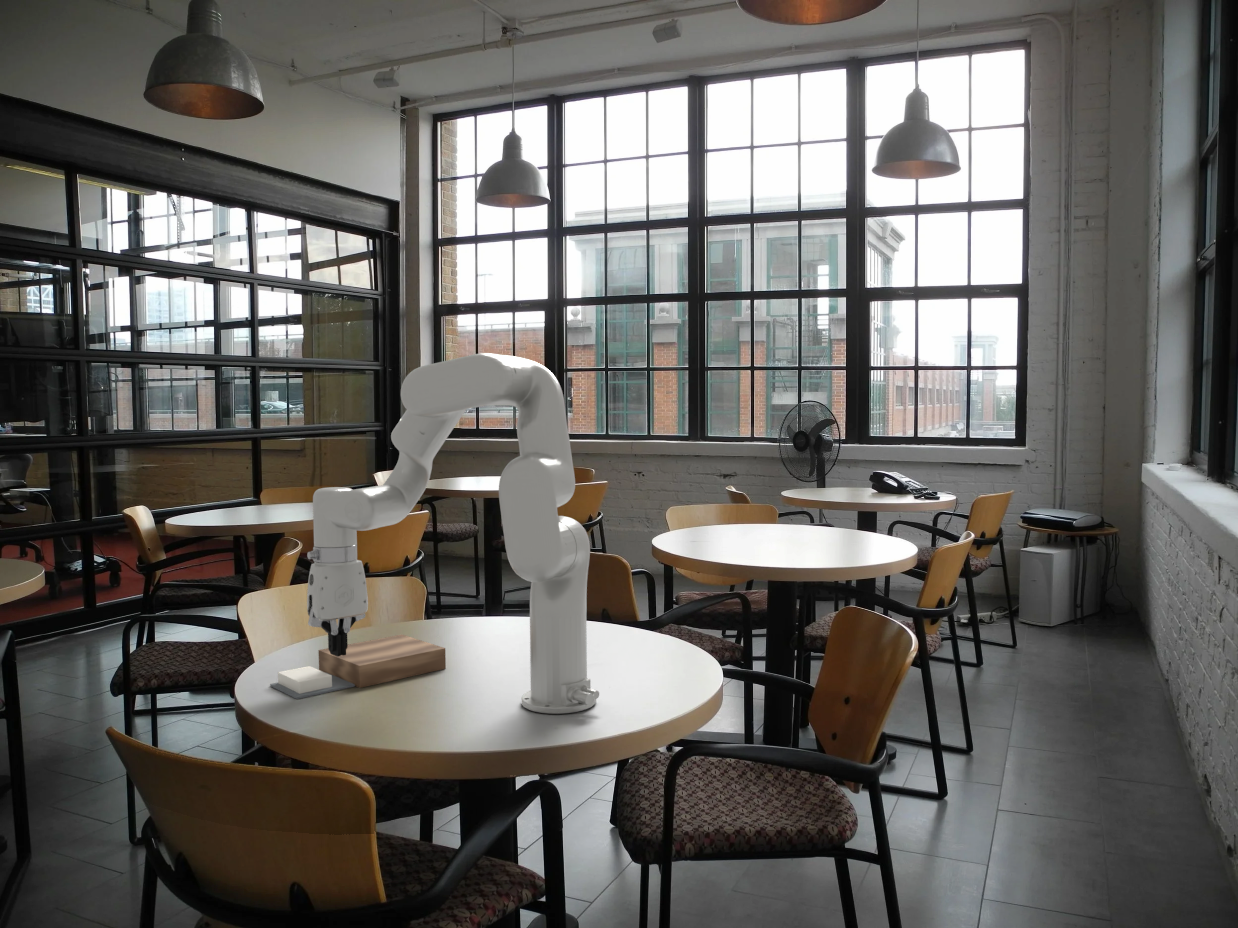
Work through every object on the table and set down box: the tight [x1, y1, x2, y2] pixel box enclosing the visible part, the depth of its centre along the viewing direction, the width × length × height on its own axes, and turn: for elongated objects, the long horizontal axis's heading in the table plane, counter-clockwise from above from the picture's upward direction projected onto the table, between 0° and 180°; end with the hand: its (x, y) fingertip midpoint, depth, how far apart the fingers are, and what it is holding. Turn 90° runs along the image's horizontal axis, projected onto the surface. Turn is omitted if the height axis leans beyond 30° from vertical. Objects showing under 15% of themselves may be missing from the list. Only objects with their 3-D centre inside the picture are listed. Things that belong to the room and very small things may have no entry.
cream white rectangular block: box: [277, 665, 332, 694], centre depth 169 cm, size 9×6×2 cm, turn 43°
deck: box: [318, 634, 447, 689], centre depth 180 cm, size 16×18×4 cm
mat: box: [269, 672, 356, 700], centre depth 169 cm, size 11×11×1 cm
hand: (338, 654), depth 173 cm, fingers closed
